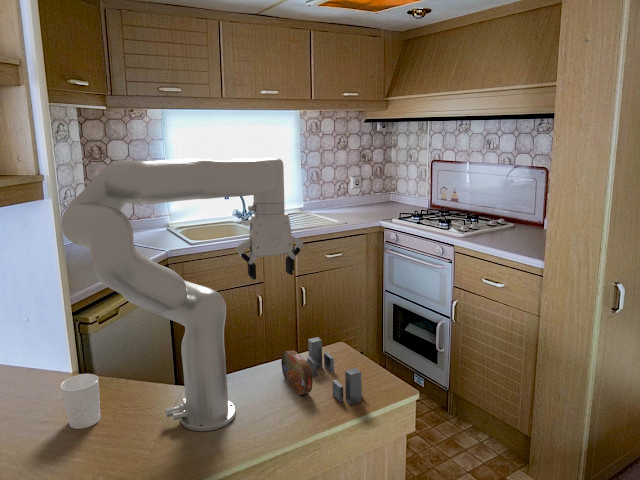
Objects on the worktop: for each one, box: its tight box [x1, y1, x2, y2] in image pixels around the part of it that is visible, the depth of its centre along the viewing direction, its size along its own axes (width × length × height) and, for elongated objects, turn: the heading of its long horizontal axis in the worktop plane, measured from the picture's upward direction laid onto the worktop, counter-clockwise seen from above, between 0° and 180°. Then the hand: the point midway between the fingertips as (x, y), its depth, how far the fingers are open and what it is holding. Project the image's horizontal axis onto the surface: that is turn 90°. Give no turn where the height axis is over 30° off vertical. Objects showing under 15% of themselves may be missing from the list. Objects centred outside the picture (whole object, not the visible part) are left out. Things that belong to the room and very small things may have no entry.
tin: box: [280, 350, 314, 396], centre depth 132 cm, size 15×3×8 cm, turn 26°
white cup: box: [59, 373, 102, 430], centre depth 119 cm, size 8×8×10 cm
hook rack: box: [306, 336, 363, 406], centre depth 134 cm, size 6×23×8 cm, turn 26°
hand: (271, 275), depth 130 cm, fingers open, 9 cm apart
